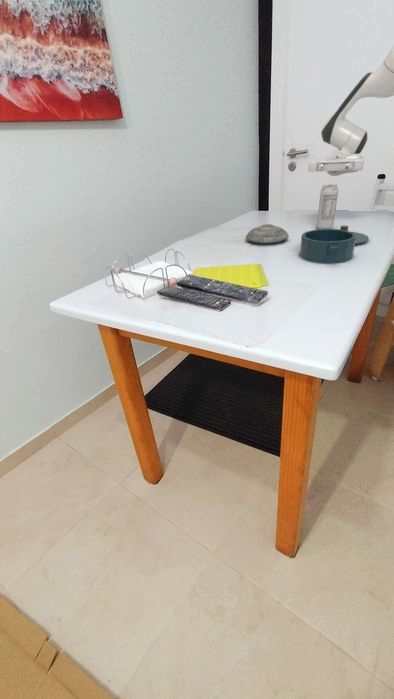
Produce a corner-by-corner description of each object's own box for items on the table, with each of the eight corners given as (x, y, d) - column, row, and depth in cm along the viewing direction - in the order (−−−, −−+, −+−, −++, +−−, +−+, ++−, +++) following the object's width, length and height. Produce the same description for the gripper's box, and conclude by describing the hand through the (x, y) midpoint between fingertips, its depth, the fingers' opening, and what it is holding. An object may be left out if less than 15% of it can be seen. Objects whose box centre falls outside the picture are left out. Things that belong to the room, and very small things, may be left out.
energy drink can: (331, 226, 130) (337, 183, 122) (333, 230, 125) (340, 186, 117) (315, 226, 131) (320, 184, 123) (317, 230, 126) (322, 186, 118)
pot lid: (361, 233, 119) (363, 220, 116) (374, 246, 106) (377, 231, 103) (314, 235, 122) (316, 221, 119) (321, 247, 108) (323, 233, 106)
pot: (344, 245, 109) (347, 226, 106) (360, 265, 92) (364, 243, 89) (297, 246, 111) (298, 227, 108) (304, 267, 95) (306, 245, 91)
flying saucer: (239, 245, 118) (239, 228, 115) (252, 234, 129) (253, 219, 126) (282, 247, 112) (283, 230, 109) (292, 235, 123) (293, 220, 120)
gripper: (311, 156, 140) (306, 158, 129) (365, 153, 132) (365, 156, 122) (309, 173, 143) (305, 177, 132) (362, 171, 136) (361, 175, 125)
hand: (334, 167), depth 127 cm, fingers open, 8 cm apart
